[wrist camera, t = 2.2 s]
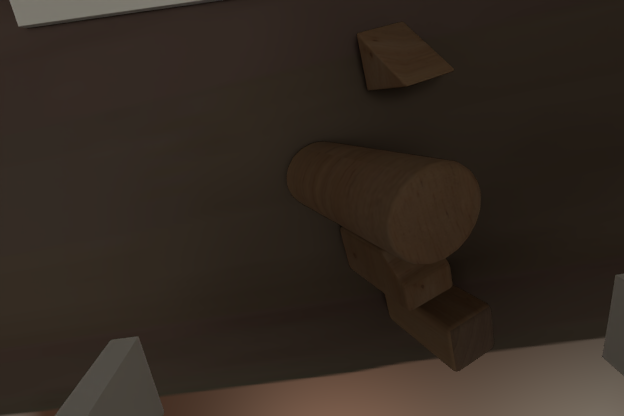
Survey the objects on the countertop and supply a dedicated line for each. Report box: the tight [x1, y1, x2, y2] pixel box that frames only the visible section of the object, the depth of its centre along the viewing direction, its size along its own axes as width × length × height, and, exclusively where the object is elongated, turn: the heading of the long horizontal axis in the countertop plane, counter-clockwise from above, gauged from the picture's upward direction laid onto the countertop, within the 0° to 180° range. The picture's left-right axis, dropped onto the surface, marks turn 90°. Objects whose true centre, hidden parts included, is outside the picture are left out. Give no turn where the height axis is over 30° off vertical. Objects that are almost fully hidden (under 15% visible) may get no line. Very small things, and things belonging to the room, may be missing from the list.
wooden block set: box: [286, 22, 495, 371], centre depth 19 cm, size 18×9×10 cm, turn 15°
